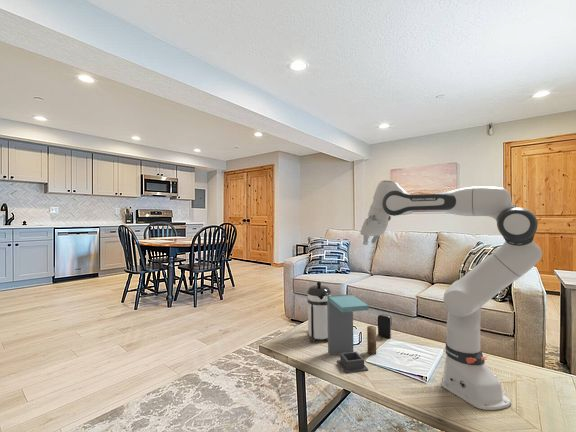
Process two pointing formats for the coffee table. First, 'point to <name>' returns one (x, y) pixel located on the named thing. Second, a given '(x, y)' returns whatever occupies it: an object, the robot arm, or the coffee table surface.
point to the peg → (371, 340)
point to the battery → (384, 325)
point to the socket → (351, 362)
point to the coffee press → (318, 312)
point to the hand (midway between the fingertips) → (369, 243)
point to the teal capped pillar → (342, 322)
